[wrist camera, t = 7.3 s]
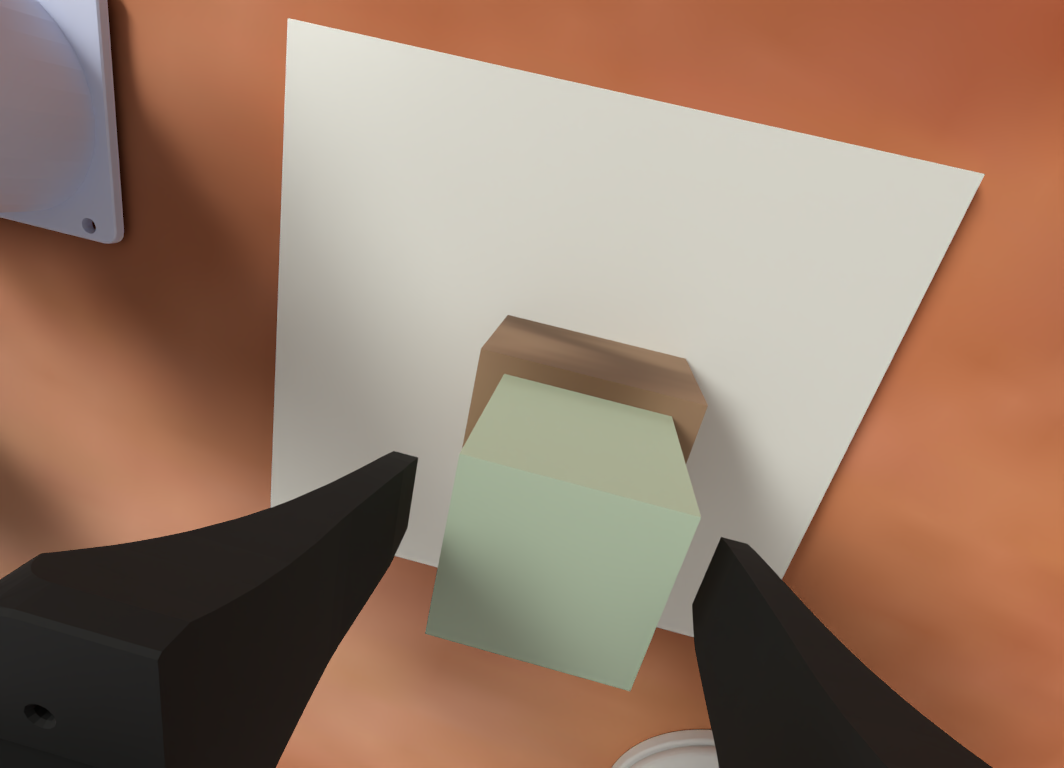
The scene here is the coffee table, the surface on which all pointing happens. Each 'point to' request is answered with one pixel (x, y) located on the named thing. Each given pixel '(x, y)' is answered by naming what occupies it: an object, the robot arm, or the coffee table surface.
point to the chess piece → (673, 751)
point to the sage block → (564, 532)
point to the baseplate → (583, 274)
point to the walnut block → (589, 373)
